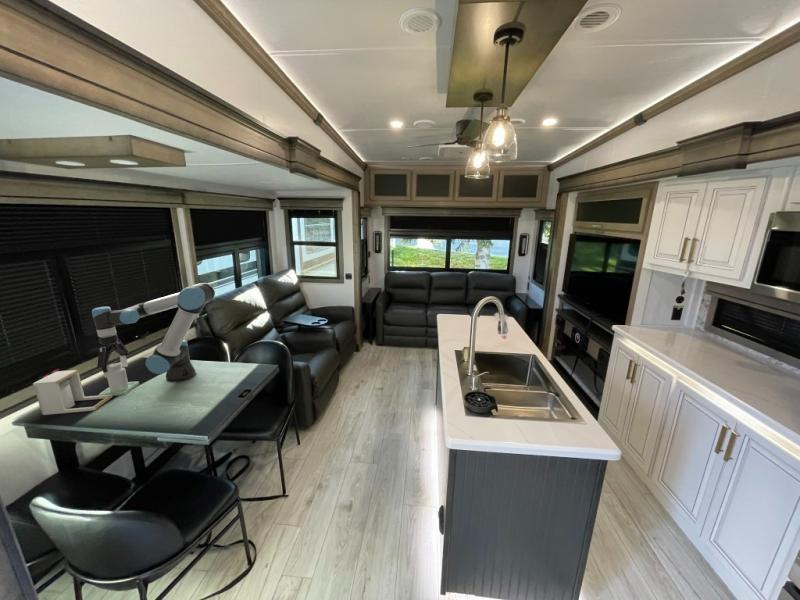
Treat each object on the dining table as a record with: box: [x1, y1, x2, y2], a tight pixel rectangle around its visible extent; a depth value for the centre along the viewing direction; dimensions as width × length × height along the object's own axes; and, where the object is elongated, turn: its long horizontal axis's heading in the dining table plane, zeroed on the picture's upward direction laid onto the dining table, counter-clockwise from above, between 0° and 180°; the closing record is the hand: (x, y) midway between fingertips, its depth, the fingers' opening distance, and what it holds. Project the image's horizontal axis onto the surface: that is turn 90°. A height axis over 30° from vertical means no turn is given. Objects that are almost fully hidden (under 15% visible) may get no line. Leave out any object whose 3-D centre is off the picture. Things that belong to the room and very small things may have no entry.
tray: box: [98, 380, 140, 397], centre depth 178 cm, size 12×12×2 cm
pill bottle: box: [107, 362, 129, 392], centre depth 176 cm, size 8×8×15 cm
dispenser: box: [32, 369, 113, 416], centre depth 161 cm, size 22×13×17 cm, turn 100°
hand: (117, 371), depth 176 cm, fingers open, 13 cm apart
